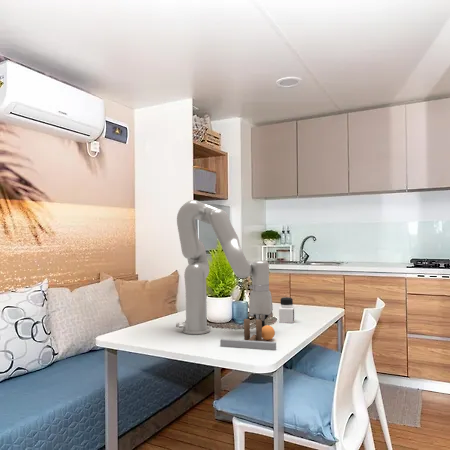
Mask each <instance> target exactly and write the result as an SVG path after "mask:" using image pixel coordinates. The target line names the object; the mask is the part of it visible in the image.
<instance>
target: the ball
mask: <svg viewBox="0 0 450 450" xmlns="http://www.w3.org/2000/svg"><path fill="white" fill-rule="evenodd" d="M275 333H276V332H275V329H274V328H273V326H271V325H267V324H265V326H264V327H262V340H265V341H271V340H272V339H274V337H275Z"/></svg>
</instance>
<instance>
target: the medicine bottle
mask: <svg viewBox="0 0 450 450" xmlns="http://www.w3.org/2000/svg"><path fill="white" fill-rule="evenodd" d="M293 303H294V302H293V298H292V297H288V296H285V297H284V296H283V297H281V298H280V306H279V308H278V317H279V318H278V320H279V321H278V322H279V323H280V324H294V322H295V306H294V305H293Z"/></svg>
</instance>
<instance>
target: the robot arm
mask: <svg viewBox="0 0 450 450" xmlns="http://www.w3.org/2000/svg"><path fill="white" fill-rule="evenodd" d="M196 220H198V221H200V222H203V223H205V224H209V225H211V228H212V230H213V232H214V233H215V235H216V237H217V240H218V241H219V243H220V245H221V248H222V250H223V252H224V255H225V257H226V259H227V261H228V263H229V266H230V267H231V269H232V271H233V273H234V275H235V276H236V277H237V278H239V279H245V278H248V277H250V276H252V278H251V281H252V282H251V283H252V284H251V285H249V288H248V289H251V290H250V293H249V300H248V301H249V303H248V312H249V313H248V315H249V316H250V317H254V318H255V320H258V319H260V320H262V327H264V326H266V320H267V318H271V317H273V316H274V313H273V308H274V307H273V298H272V292H271V290H270V270H269V267H270V266H269V265H270V264H269V262H268V261H267V260H247V257H246V256H245V255H244V252H243V249H242V247H241V245H240V239H239V236H238V234H237V232H236V231H235V229H234V226H233V224H232V222H231V220H230V217H229V214H228V213H227V211H226V210H224V209H222V208H217V207H215V206H212V205H210V204H207V203H203V202H201V201H199V200H196V199H192V200H188V201H186V202H185V203H184V204H182V205H181V206H180V208H179V210H178V212H177V216H176V226H177V232H178V237H179V242H180V248H181V253H182V256H183V258H185V259H187V263H188V265H187V266H186V267H185V270H184V274H183V275H184V285H185V320H184V322H183V321H182V322H176V323H175V328H179V329H181V328H182V332H183V334H187V335H205V334H208V333H210V332H211V328H210V327H209V326H208V325H207V324H208V322H207V321H208V317H207V316H208V315H207V314H208V312H207V311H208V309H207V308H208V306H207V305H208V304H207V303H208V302H207V281H206V279H207V277H209V274H210V267H209V262H208V261H209V260H208V256H207V251H206V247H205V244H204V243H203V241H202V240H200V239H199V235H198V230H197V226H196Z"/></svg>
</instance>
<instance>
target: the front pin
mask: <svg viewBox="0 0 450 450" xmlns="http://www.w3.org/2000/svg"><path fill="white" fill-rule="evenodd" d="M249 340H250V341H256V334H253V335H250V338H249Z"/></svg>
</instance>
